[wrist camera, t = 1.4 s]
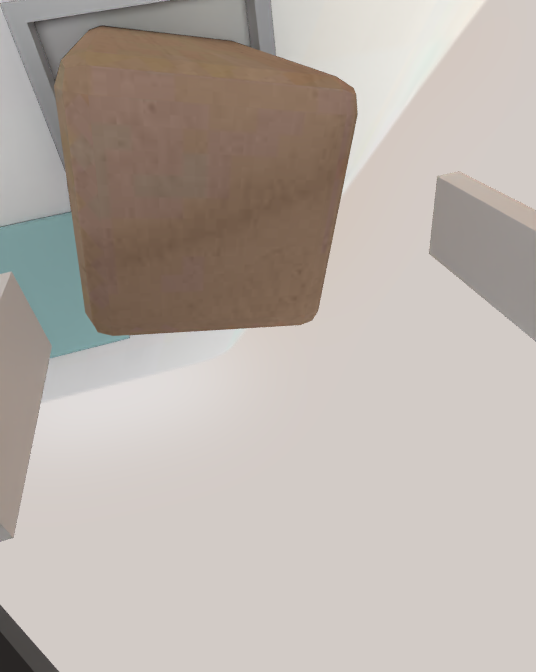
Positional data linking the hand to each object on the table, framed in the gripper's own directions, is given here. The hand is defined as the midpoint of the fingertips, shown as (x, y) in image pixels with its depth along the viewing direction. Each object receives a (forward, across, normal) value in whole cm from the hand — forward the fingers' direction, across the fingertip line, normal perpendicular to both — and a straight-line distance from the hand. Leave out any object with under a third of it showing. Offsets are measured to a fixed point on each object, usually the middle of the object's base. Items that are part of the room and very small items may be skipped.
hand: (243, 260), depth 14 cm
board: (+23, -14, -11) cm, 29 cm away
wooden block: (+23, 0, 0) cm, 23 cm away
